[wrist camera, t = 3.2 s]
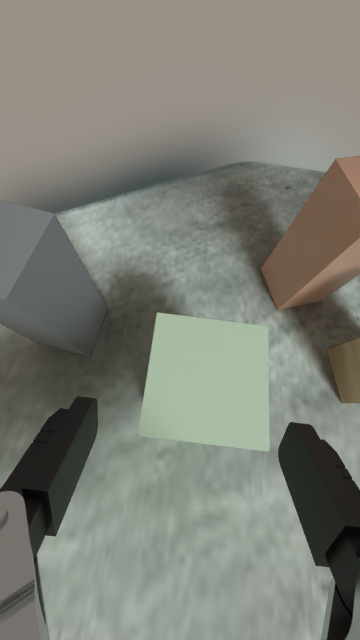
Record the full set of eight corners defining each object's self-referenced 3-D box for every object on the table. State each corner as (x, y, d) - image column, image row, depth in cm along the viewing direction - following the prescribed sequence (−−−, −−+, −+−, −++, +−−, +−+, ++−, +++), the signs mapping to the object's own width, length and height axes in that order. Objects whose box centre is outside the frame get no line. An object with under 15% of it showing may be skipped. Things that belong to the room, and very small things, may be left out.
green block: (215, 369, 18) (268, 326, 9) (211, 427, 17) (269, 451, 7) (161, 362, 18) (157, 312, 9) (153, 420, 17) (137, 435, 7)
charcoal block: (108, 308, 19) (54, 213, 10) (89, 357, 18) (5, 299, 9) (60, 295, 19) (-38, 190, 10) (37, 342, 18) (-101, 271, 9)
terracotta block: (302, 261, 22) (405, 149, 12) (320, 301, 21) (451, 210, 11) (260, 268, 21) (335, 158, 12) (277, 310, 20) (375, 223, 11)
